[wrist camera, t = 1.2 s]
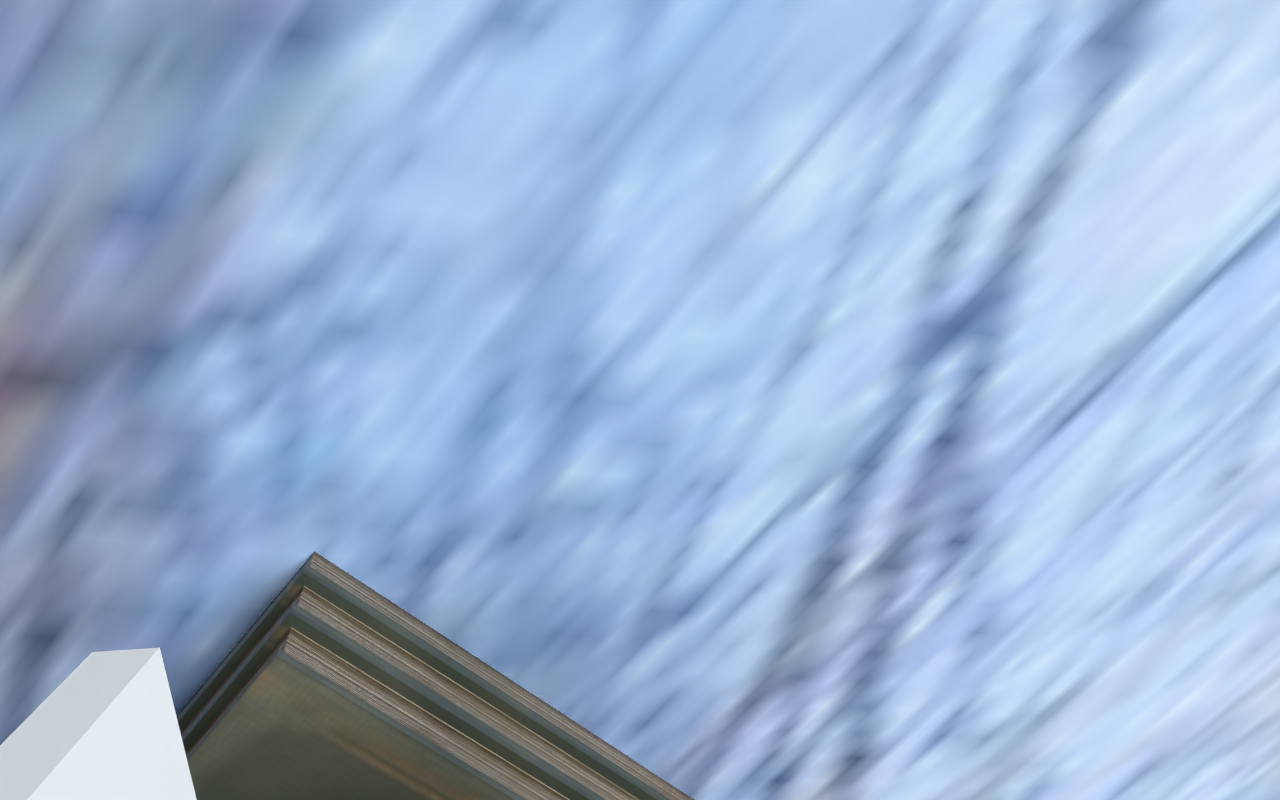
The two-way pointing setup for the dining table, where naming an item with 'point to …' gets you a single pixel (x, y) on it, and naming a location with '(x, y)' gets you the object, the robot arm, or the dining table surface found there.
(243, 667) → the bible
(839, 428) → the dining table surface
